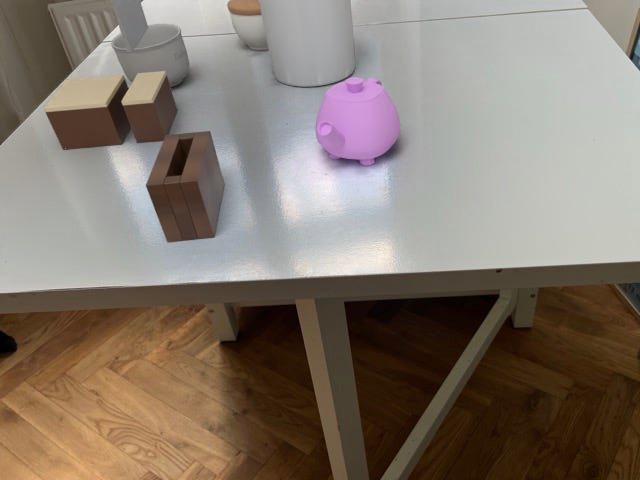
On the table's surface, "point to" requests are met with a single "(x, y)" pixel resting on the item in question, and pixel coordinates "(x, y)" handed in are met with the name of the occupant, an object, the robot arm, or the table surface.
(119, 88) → the cake
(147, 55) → the teacup
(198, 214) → the knife block
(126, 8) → the knife
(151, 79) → the cake slice
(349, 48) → the utensil holder
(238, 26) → the trinket box
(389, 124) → the teapot
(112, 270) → the table surface
